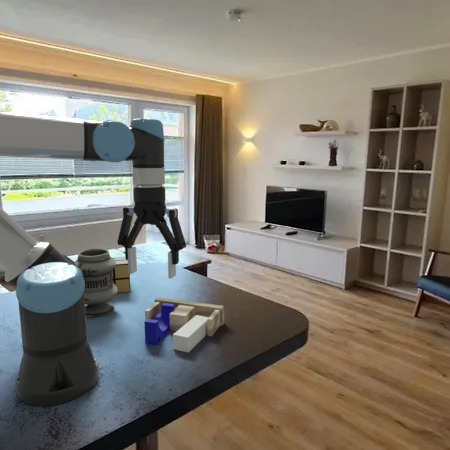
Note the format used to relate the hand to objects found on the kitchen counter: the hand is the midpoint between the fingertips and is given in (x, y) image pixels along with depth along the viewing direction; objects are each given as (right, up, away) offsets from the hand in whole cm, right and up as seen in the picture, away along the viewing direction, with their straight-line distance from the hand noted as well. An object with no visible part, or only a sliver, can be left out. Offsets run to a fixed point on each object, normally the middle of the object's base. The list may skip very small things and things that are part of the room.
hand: (152, 274), depth 94 cm
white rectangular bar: (+10, -16, 0) cm, 19 cm away
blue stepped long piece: (+1, -16, +3) cm, 16 cm away
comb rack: (+7, -15, +8) cm, 18 cm away
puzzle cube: (-20, -10, +36) cm, 42 cm away
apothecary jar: (-20, -13, +17) cm, 29 cm away
